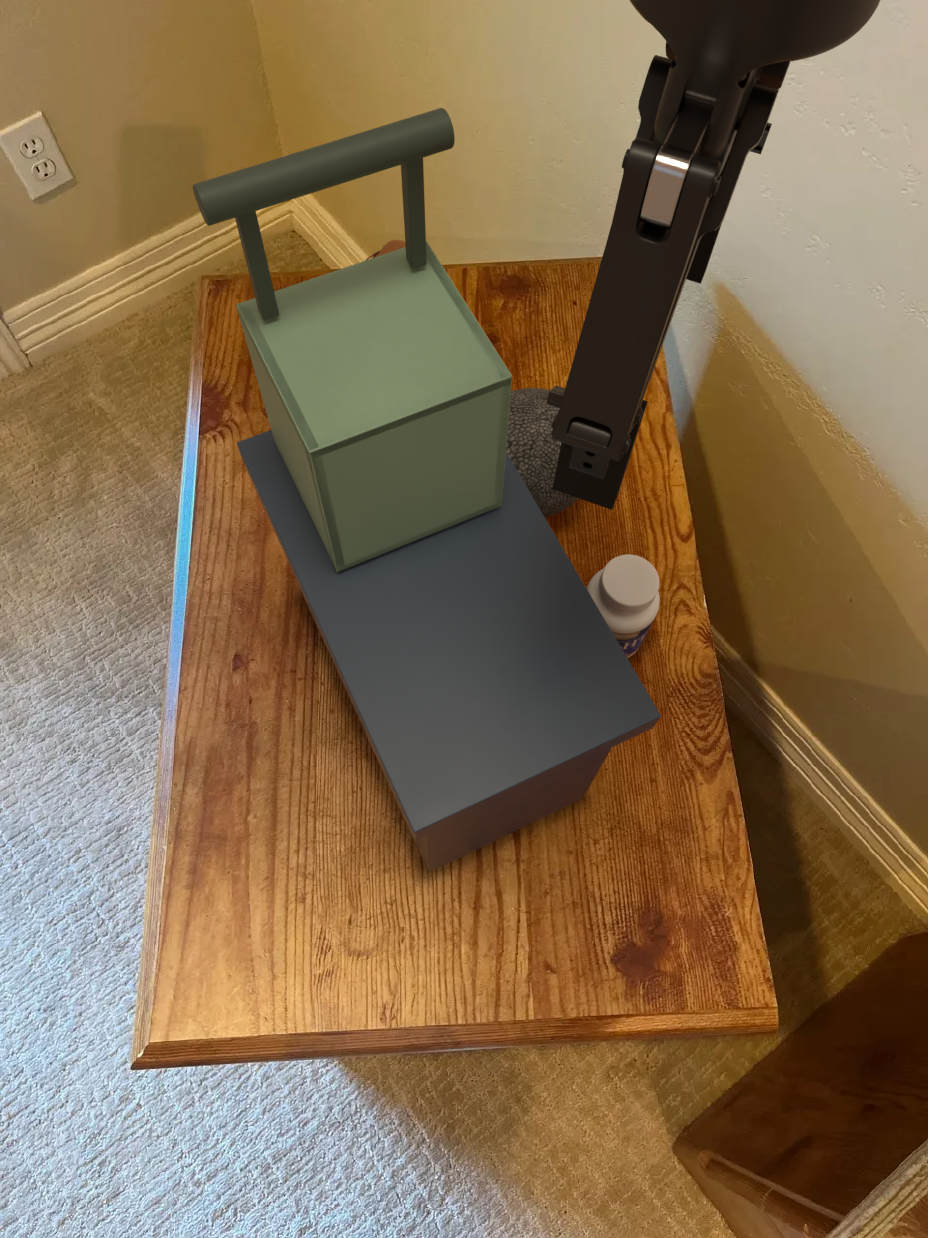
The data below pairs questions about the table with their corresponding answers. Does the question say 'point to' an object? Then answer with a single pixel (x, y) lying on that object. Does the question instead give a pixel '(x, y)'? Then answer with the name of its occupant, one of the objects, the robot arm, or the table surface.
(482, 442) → the basket
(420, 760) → the gray rectangular block
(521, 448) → the decorative ball
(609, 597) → the pill bottle
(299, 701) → the table surface
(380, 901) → the table surface
